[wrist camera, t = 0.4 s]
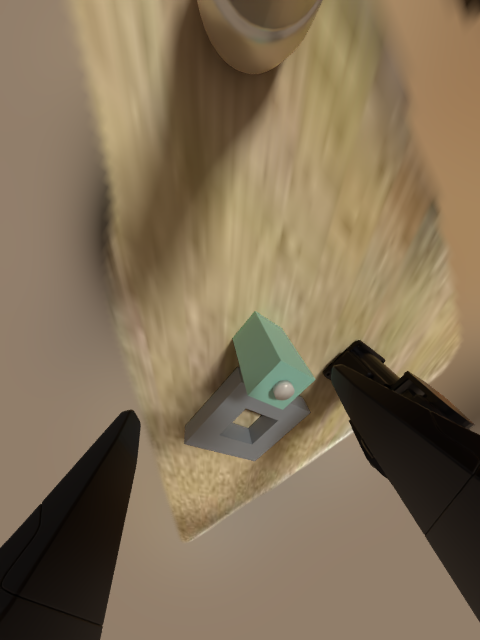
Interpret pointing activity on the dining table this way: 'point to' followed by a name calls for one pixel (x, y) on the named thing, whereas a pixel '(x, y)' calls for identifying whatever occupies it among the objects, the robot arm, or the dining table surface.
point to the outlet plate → (228, 438)
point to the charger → (270, 363)
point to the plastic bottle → (256, 30)
